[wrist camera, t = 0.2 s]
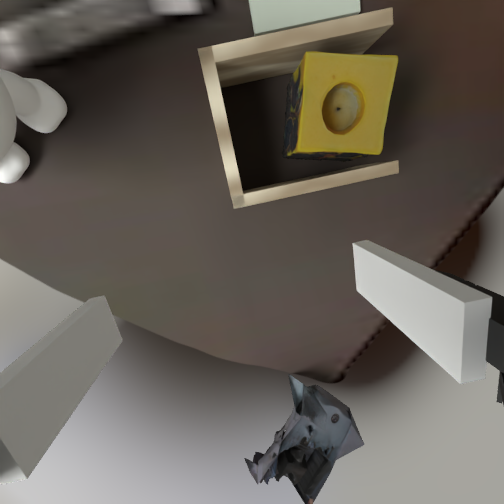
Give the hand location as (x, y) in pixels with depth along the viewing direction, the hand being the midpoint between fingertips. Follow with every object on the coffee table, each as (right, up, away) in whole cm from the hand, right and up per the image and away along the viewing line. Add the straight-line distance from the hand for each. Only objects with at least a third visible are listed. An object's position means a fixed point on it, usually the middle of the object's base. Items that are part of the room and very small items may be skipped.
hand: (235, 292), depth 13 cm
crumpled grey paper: (+10, -32, +39) cm, 52 cm away
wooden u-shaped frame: (+7, +20, +23) cm, 31 cm away
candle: (+11, +21, +24) cm, 33 cm away
